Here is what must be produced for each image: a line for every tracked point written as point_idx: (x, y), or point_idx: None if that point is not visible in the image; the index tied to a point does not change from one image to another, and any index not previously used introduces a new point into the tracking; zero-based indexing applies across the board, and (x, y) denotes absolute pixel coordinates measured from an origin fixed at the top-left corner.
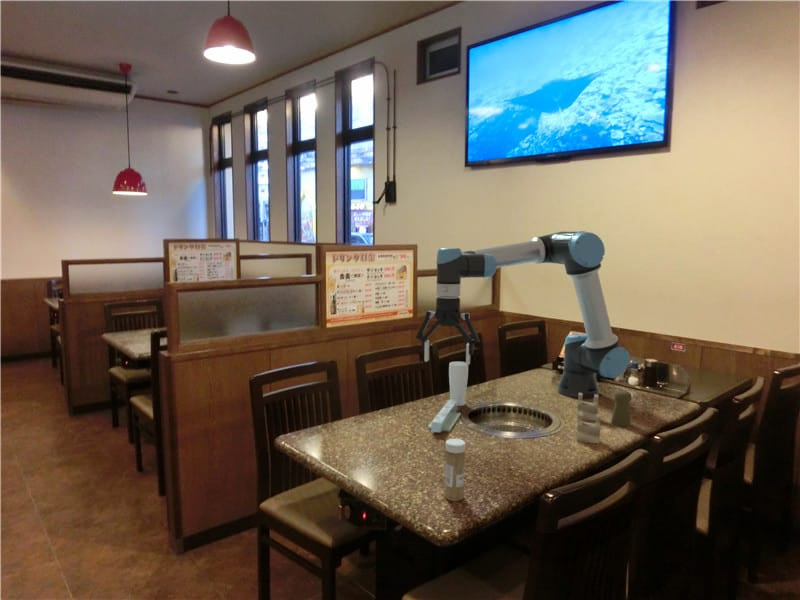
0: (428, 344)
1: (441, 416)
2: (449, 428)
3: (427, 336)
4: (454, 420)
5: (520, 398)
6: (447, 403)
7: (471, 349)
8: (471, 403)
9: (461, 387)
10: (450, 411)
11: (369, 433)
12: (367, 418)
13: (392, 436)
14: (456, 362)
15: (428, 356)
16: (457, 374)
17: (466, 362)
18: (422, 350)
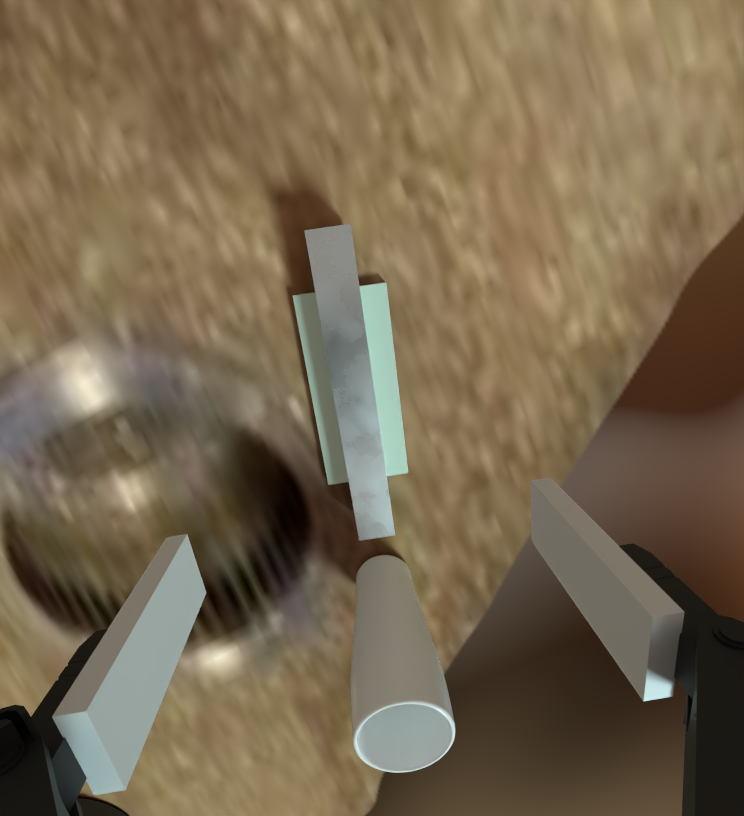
0: (614, 636)
1: (339, 320)
2: (296, 301)
3: (710, 696)
4: (316, 397)
5: (212, 718)
6: (381, 487)
7: (67, 680)
8: (342, 605)
9: (365, 615)
10: (337, 415)
11: (591, 98)
12: (654, 269)
13: (486, 115)
14: (429, 757)
15: (545, 548)
16: (387, 657)
17: (174, 550)
18: (632, 545)
